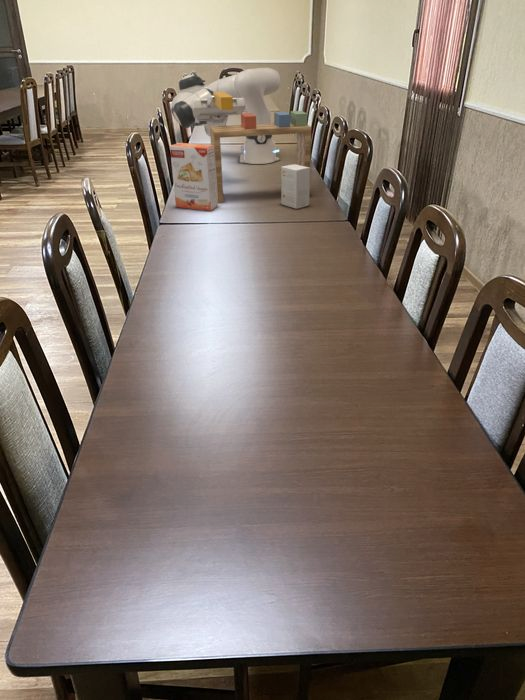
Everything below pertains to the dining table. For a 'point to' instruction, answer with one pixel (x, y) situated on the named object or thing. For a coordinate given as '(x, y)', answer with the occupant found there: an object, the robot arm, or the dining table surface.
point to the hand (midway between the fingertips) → (220, 97)
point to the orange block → (223, 100)
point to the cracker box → (194, 176)
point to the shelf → (261, 129)
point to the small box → (295, 186)
